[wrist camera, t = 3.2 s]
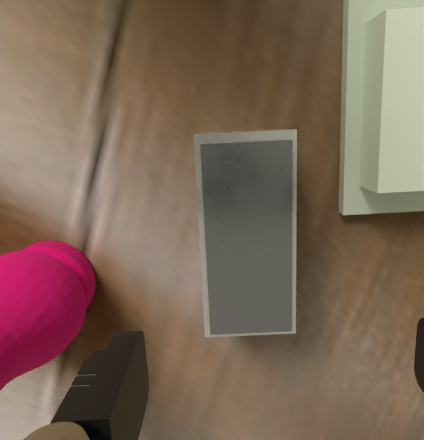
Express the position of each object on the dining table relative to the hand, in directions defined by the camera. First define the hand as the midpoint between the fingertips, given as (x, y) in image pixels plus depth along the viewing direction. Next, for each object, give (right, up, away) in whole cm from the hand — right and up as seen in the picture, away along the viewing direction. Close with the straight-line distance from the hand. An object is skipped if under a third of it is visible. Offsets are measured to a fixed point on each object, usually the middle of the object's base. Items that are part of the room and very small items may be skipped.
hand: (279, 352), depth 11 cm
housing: (0, +4, +16) cm, 17 cm away
